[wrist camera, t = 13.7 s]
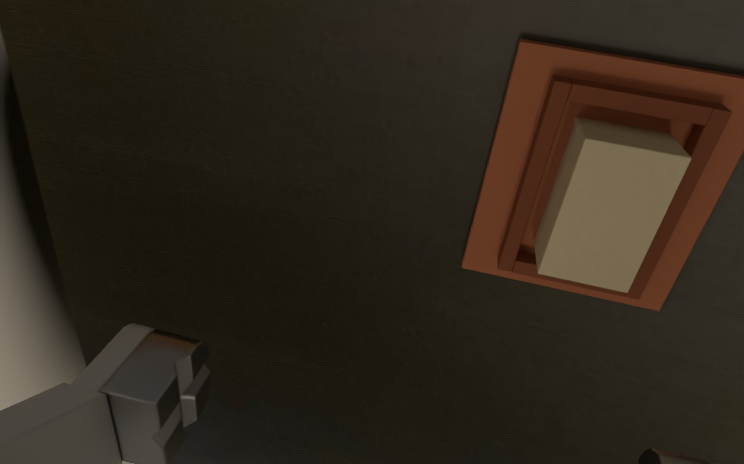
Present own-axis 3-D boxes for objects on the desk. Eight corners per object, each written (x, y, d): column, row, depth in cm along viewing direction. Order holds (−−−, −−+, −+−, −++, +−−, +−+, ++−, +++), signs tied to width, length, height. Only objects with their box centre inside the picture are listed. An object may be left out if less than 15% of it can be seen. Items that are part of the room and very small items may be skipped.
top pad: (575, 115, 31) (585, 137, 28) (670, 133, 31) (692, 158, 27) (533, 241, 36) (537, 274, 32) (615, 259, 35) (627, 293, 32)
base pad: (519, 37, 31) (521, 45, 29) (771, 80, 29) (792, 91, 27) (462, 260, 39) (460, 279, 37) (655, 303, 37) (665, 325, 35)
